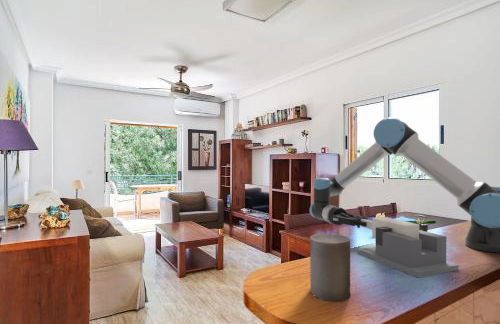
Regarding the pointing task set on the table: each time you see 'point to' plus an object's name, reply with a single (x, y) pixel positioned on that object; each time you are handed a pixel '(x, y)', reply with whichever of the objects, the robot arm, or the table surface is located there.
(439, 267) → the guide
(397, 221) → the peg
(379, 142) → the robot arm
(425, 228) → the cup
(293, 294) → the table surface
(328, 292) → the pillar candle
